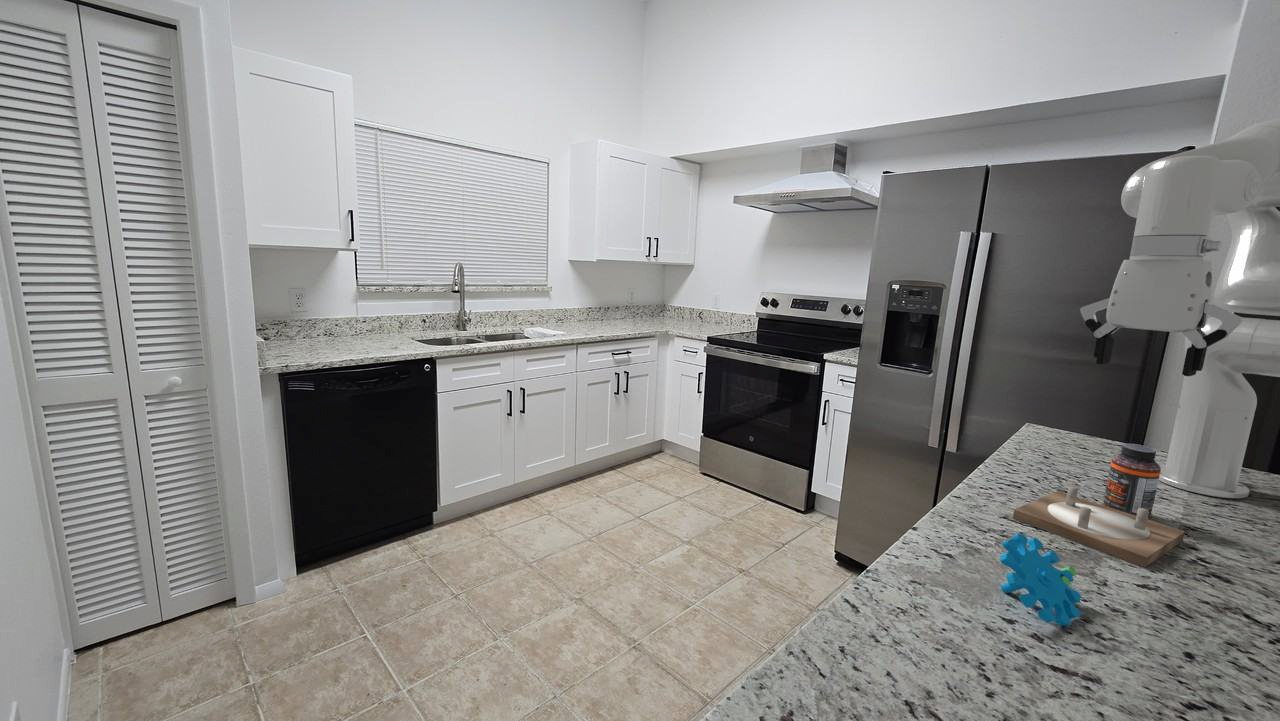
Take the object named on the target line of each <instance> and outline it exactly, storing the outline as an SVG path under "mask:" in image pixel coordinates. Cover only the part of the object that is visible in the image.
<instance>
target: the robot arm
mask: <svg viewBox="0 0 1280 721" xmlns="http://www.w3.org/2000/svg"><path fill="white" fill-rule="evenodd" d="M1123 186H1124V187H1123V189H1122V191H1121V194H1120V195H1121V197H1120V202H1121V207H1122V210H1123V211H1124V212H1125V213H1126V214H1127V216H1129V217H1131V218H1134V219H1136V222H1135V227H1134V232H1133V238H1132V243H1131V250H1130V254H1129V259H1124V260H1123V261H1122V263H1121V265H1120V268H1119V269H1118V273H1117V274H1116V278H1115V280H1114V283H1113V285H1112V290H1111V293H1110V296H1109V297H1108V298H1105V299H1103V300H1100V301H1099V300H1098V301H1096V302H1094V303H1090V304H1087V305H1083V306H1082V307H1080V309H1079V312H1080V314H1081V316H1082V318H1083V320H1084V325H1085V326H1086V327H1087V328H1088V329H1089V330H1090V331H1091V332H1092V333H1093V335H1094V337H1095V338H1096V341H1095V347H1094V352H1093V357H1094V358H1096V361H1095V363H1096V365H1104V364H1110V362H1111V357H1112V351H1113V349H1114V348H1113V347H1114V343H1115V342H1114V341H1115V338H1114V337H1112V334H1114V333H1115V332H1116V331H1118V330H1119V329H1121V328H1126V329H1136V330H1137V329H1138V330H1148V331H1156V332H1157V331H1158V332H1159V331H1160V332H1168V333H1169V332H1171V333H1182V334H1184V336H1185V340H1184V362H1183V368H1182V371H1181V375H1183V382H1182V386H1181V387H1182V388H1181V392H1180V396H1179V401H1178V406H1177V412H1176V415H1175V419H1174V420H1175V421H1174V424H1173V425H1174V426H1173V429H1172V434H1171V439H1170V444H1169V449H1168V454H1167V456H1166V457H1167V458H1166V462H1165V466H1160V468H1161V472H1160V476H1159V481H1158V482H1161V483H1164V484H1166V485H1168V486H1172V487H1175V488H1178V489H1180V490H1184V491H1188V492H1192V493H1196V494H1200V495H1205V496H1209V497H1216V498H1223V499H1224V498H1225V499H1245V498H1247V497H1248V496H1249V495H1250V489H1249V487H1248V486H1246V485H1244V484H1242V483H1240V482H1239V480H1240V476H1241V472H1242V467H1243V463H1244V459H1245V455H1246V451H1247V447H1248V443H1249V442H1248V441H1249V437H1250V434H1251V429H1252V425H1253V421H1254V417H1255V412H1256V409H1257V404H1258V397H1257V394H1256V391H1255V390H1254V388H1253V387H1252V386H1251V384H1250V383H1249V381H1248V380H1247V379H1246V378H1245V376H1244V375H1243V374H1248V375H1249V374H1250V375H1251V374H1253V375H1260V376H1269V377H1274V378H1275V377H1277V378H1280V320H1277V319H1265V318H1257V317H1256V318H1253V317H1242V316H1240V315H1237V314H1235V313H1238V314H1249V315H1260V316H1261V315H1262V316H1273V317H1274V316H1275V317H1280V210H1278V209H1277V208H1278V207H1279V208H1280V118H1273V119H1270V120H1269V119H1268V120H1264V121H1261V122H1257V123H1254V124H1252V125H1249V126H1247V127H1246V128H1244V129H1242V130H1241V131H1239V132H1237V133H1235V134H1233V135H1232V136H1230V137H1229V138H1226V139H1224V140H1221V141H1219V142H1218V141H1217V142H1215V143H1210V144H1207V145H1203V146H1200V147H1197V148H1195V149H1193V148H1192V149H1190V150H1187V151H1186V150H1185V151H1182V152H1179V153H1176V154H1172V155H1169V156H1165V157H1163V158H1159V159H1156V160H1154V161H1151V162H1149V163H1147V164H1145V165H1144V166H1142V167H1140V168H1139V169H1137V170H1136V171H1135V172H1134V173H1132V174H1131V175H1130V177H1129V178H1128V180H1126V183H1125V184H1124V185H1123ZM1225 215H1226V217H1227V220H1228V222H1229V226H1230V229H1231V242H1230V245H1229V248H1228V252H1227V254H1226V257H1225V260H1224V262H1223V265H1222V268H1221V272H1220V274H1219V277H1218V279H1217V283H1216V285H1215V289H1214V294H1213V295H1214V296H1213V299H1214V304H1213V303H1211V298H1212V297H1211V296H1212V287H1213V265H1212V264H1213V263H1212V260H1204V257H1206V255H1207V254H1208V253H1212V252H1220V250H1221V249H1222V240H1213V239H1211V238H1210V236H1209V232H1210V228H1211V223H1212V219H1213V218H1212V217H1214V216H1225ZM1104 309H1106V314H1105V320H1106V322H1105V323H1104V324H1103V323H1102V322H1100V320H1098V318H1097V316H1096V313H1097V312H1098V311H1103V310H1104ZM1209 316H1211V317H1209Z"/></svg>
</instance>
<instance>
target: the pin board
mask: <svg viewBox="0 0 1280 721" xmlns="http://www.w3.org/2000/svg"><path fill="white" fill-rule="evenodd" d="M1078 492H1079V488H1077V487H1075V486H1068V488H1067V493H1064V492H1062V491H1056V492H1052V493H1050V494H1047V495H1045V496H1043V497H1040V498H1038V499H1036V500H1033V501H1031V502H1028V503H1026V504H1024V505H1021V506H1019V507H1016V508H1014V509H1013V514H1012V519H1014V520H1017V521H1019V522H1022V523H1025V524H1027V525H1031V526H1033V527H1035V528H1038V529H1041V530H1044V531H1046V532H1048V531H1049V533H1051V532H1052V533H1051V534H1054V535H1056V534H1057V535H1056V536H1059V535H1060V536H1059V537H1061V538H1065V539H1067V540H1069V541H1071V542H1075V543H1078V544H1080V545H1083V546H1085V545H1086V547H1088V548H1091V549H1094V550H1096V551H1098V552H1102V553H1105V554H1107V555H1109V554H1110V556H1112V557H1115V558H1118V559H1120V560H1123V561H1125V562H1128V563H1131V564H1134V565H1136V566H1139V567H1141V568H1144V569H1145V568H1147V567H1148V566H1149V565H1151V564H1152V563H1154V562H1155V561H1156V560H1158V559H1159V558H1161V557H1162V556H1164V555H1165V554H1167V552H1169V551H1171V550H1172V549H1174V548H1176V546H1178V545H1179V544H1181V543H1182V542H1184V538H1185V533H1186V532H1185V531H1184V530H1181V529H1178V528H1176V527H1173V526H1169V525H1167V524H1162V523H1160V522H1156V521H1153V520H1150V519H1149V518H1148V514H1149V510H1147V509H1144V508H1138V511H1137V516H1135V515H1131V514H1128V513H1125V512H1122V511H1119V510H1116V509H1112V508H1109V507H1106V506H1103V504H1099V503H1097V502H1093V501H1090V500H1087V499H1084V498H1080V497H1078Z"/></svg>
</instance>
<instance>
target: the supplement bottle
mask: <svg viewBox="0 0 1280 721" xmlns="http://www.w3.org/2000/svg"><path fill="white" fill-rule="evenodd" d="M1156 454H1157V450H1156V449H1155V448H1152V447H1149V446H1147V445H1142V444H1137V443H1124V444H1123V445H1122V448H1121V453H1120V454H1117V455H1115V456H1113V457H1112V459H1111V462H1110V467H1109V472H1108V477H1107V481H1106V482H1107V483H1106V486H1105V491H1104V496H1103V499H1102V500H1103V502H1102V505H1103V506H1106V507H1109V508H1112V509H1116V510H1119V511H1122V512H1125V513H1128V514H1131V515H1135V516H1137V511H1138V508H1144V509H1147V510H1149V514H1148V519H1150V518H1151V516H1152V512H1153V507H1154V504H1155V503H1154V502H1155V498H1156V494H1157V490H1158V485H1159V482H1160V481H1159V476H1160V472H1161V468H1160V467H1161V465H1160V464H1159V463H1158V462H1156V460H1155V459H1156V456H1157V455H1156Z"/></svg>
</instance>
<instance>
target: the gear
mask: <svg viewBox="0 0 1280 721" xmlns="http://www.w3.org/2000/svg"><path fill="white" fill-rule="evenodd" d="M1027 544H1028V547H1027ZM1001 545H1002V547H1003V548H1004V549H1005V551H1007V552H1004V553H1002V554H1001V555H1000V563H1001V564H1003V566H1005V567H1008V568H1010V569H1011V570H1012V571H1013V572H1009V573H1007V574H1006V577H1005V578H1006V581H1007V583H1003V584H1000V589H1001V590H1002V592H1003V593H1005V594H1008V593H1009V594H1010V593H1013V592H1016V591H1018V590H1023V589H1025V590H1026V591H1027V593H1024V594H1020V595H1019V599H1020V601H1021V604H1022V605H1023V607H1025V608H1026V609H1027V608H1028V609H1029V608H1032V607H1035V606H1036V605H1037V601H1038V602H1039V603H1041V606H1042V609H1038V610H1037V616H1038V617H1039V618H1040V619H1041V620H1042V621H1043V622H1044V623H1046V624H1047V623H1051V622H1055V623H1056V625H1059V626H1061V627H1062V626H1063V627H1066V626H1070V625H1072V619H1076V618H1079V617H1080V616H1082V614H1081V611H1080V610H1079V608H1077V607H1076V606H1075V605H1074V604H1078V603H1080V602H1081V598H1082V597H1081V594H1080V592H1078V591H1077V590H1075V589H1073V588H1071V587H1070V586H1071V583H1073V582H1074V577H1075V576H1077V575H1078V573H1077V571H1076V569H1075V567H1073V566H1067V567H1064V568H1061V569H1058V568H1056V567H1054V566H1053V565H1054V564H1056V563H1059V562H1060V561H1061V559H1060V557H1059V556H1058V555H1057V553H1056V552H1055V551H1054V550H1050V551H1047V552H1045V553H1044V555H1043V556H1042V555H1041V554H1040V553H1039V550H1041V549H1043V548H1044V544H1043V542H1041V540H1039V539H1038V538H1037V537H1032V538H1029V539H1028V537H1027V536H1026V535H1024V534H1021V533H1016V534H1014V535H1012V538H1010V539H1008V540H1005V541H1003V542H1002V543H1001ZM1054 612H1055V613H1054Z"/></svg>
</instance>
